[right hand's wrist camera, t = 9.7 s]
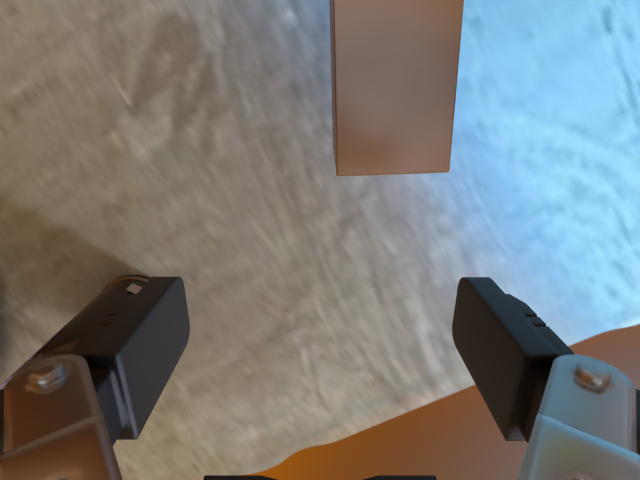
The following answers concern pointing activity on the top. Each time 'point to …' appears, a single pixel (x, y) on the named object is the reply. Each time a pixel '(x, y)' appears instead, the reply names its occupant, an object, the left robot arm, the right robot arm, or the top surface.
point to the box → (394, 84)
